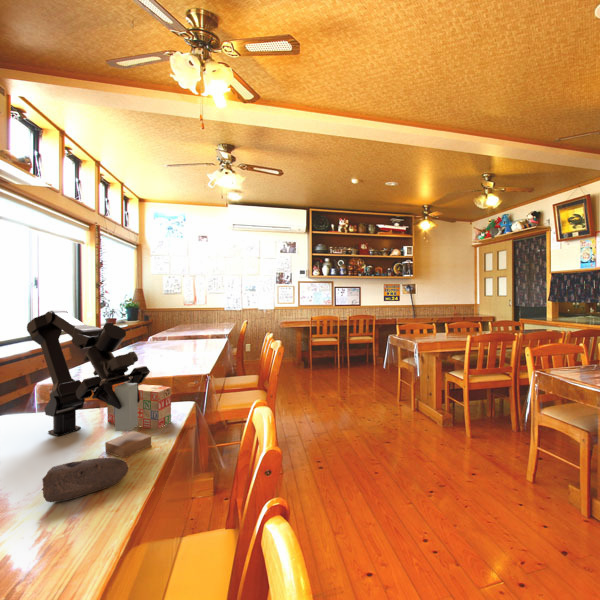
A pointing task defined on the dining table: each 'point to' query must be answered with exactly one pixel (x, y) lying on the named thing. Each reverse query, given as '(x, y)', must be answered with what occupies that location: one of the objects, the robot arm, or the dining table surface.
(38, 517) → the dining table surface
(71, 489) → the perforated stone tool
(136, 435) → the base block
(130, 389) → the column
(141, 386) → the stack of blocks
